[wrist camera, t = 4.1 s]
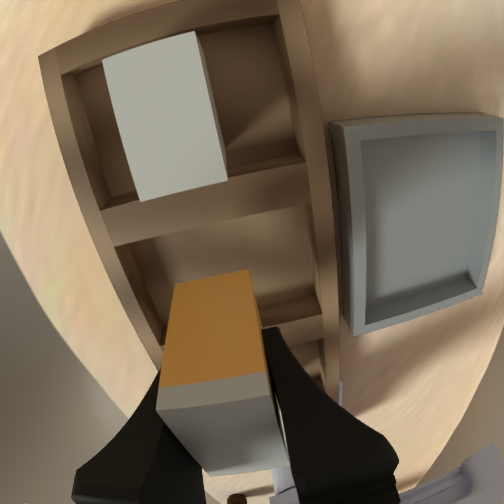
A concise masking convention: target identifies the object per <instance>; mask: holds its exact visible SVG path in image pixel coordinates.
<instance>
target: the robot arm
mask: <svg viewBox="0 0 504 504" xmlns="http://www.w3.org/2000/svg"><path fill="white" fill-rule="evenodd" d="M261 331H262V338H263V344H264V349H265V354H266V358H267V362H268V366H269V370H270V374H271V378H272V382H273V386H274V390H275V394H276V397H277V400H278V404H279V407H280V410H281V415H282V420H283V426H284V431H285V437H286V443H287V446H286V449H287V454H288V459H289V465H290V466H285V467H279V468H274V469H271V472H272V479H273V485H274V492H275V496H272V497H269V501H270V504H500V503H502V502H503V501H504V459H503V457H502V455H501V453H500V452H499V449H498V447H497V446H496V444H495V443H491V444H490V445H488V446H486V447H485V448H483V449H481V450H480V451H478V452H476V453H475V454H473V455H471V456H469V457H468V458H467V459H465V460H464V461H463V462H462V463H461V465H460V467H458V468H456V469H454V470H452V471H450V472H448V473H446V474H444V475H442V476H440V477H438V478H435V479H433V480H431V481H429V482H426V483H424V484H422V485H420V486H417V487H415V488H412V489H410V490H408V491H405V492H402V493H400V494H398V491H397V489H396V486H395V484H396V479H395V476H394V474H393V473H394V471H395V469H396V467H397V465H398V464H399V458H398V456H397V454H396V452H395V450H394V449H393V447H392V446H391V444H390V443H389V442H388V440H387V439H386V438H385V437H384V435H382V434H380V433H379V432H377V431H375V430H374V429H372V428H370V427H369V426H367V425H366V424H364V423H363V422H361V421H360V420H358V419H357V418H355V417H354V416H353V415H351V414H350V413H349V412H348V411H346V410H345V409H344V408H342V395H343V383H342V381H341V380H339V404H338V403H336V402H335V401H334V400H333V399H332V398H331V397H330V396H329V395H328V394H326V393H325V392H324V391H323V390H322V389H321V388H320V387H319V386H318V384H317V383H316V382H315V381H314V380H313V379H312V378H311V377H310V375H309V374H308V373H307V372H306V371H305V370H304V368H303V367H302V366H301V364H300V363H299V362H298V360H297V359H296V357H295V356H294V355H293V353H292V352H291V350H290V349H289V347H288V345H287V344H286V342H285V340H284V338H283V336H282V334H281V332H280V329H279V328H278V327H276V326H275V327H270V328H265V329H261ZM160 374H161V368H160V370H159V372H158V373H157V375H156V377H155V379H154V381H153V383H152V385H151V386H150V388H149V390H148V391H147V393H146V395H145V396H144V398H143V400H142V401H141V403H140V404H139V406H138V407H137V409H136V410H135V412H134V413H133V415H132V416H131V417H130V419H129V420H128V421H127V423H126V424H125V425H124V426H123V428H122V429H121V430H120V431H119V432H118V433H117V435H116V436H115V437H114V438H113V439H112V440H111V441H110V442H109V443H108V444H107V445H106V446H105V447H104V448H103V449H102V450H101V451H100V452H99V453H98V454H96V455H95V456H94V457H93V458H92V459H90V460H89V461H88V462H87V463H85V464H84V465H83V466H81V467H80V468H79V469H77V470H76V475H75V478H74V484H73V489H72V496H71V498H72V500H73V501H74V502H75V503H76V504H206V499H205V491H204V484H203V475H202V467H201V466H200V465H199V463H198V462H197V461H196V460H195V459H194V458H193V457H192V455H191V454H190V453H189V452H188V451H187V449H186V448H185V447H184V446H183V445H182V443H181V442H180V441H179V440H178V439H177V437H176V436H175V435H174V434H173V432H172V431H171V430H170V428H169V427H168V426H167V425H166V423H165V422H164V421H163V419H162V418H161V417H160V415H159V414H158V413H157V411H156V404H157V396H158V388H159V381H160ZM23 504H27V503H23Z"/></svg>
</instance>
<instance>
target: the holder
mask: <svg viewBox="0 0 504 504" xmlns="http://www.w3.org/2000/svg"><path fill="white" fill-rule="evenodd" d="M192 31H195V33H196V35H197V37H198V40H199V42H200V44H201V47H202V49H203V52H204V54H205V59H206V64H207V68H208V73H209V77H210V82H211V86H212V91H213V96H214V100H215V105H216V109H217V114H218V118H219V123H220V127H221V132H222V136H223V141H224V146H225V153H226V164H227V175H228V181H224V182H220V183H215V184H211V185H207V186H202V187H198V188H194V189H190V190H186V191H181V192H177V193H173V194H169V195H166V196H162V197H158V198H154V199H150V200H146V201H143V202H140V199H139V196H138V193H137V190H136V187H135V184H134V181H133V177H132V174H131V171H130V167H129V164H128V161H127V157H126V154H125V150H124V147H123V143H122V140H121V136H120V132H119V129H118V125H117V121H116V117H115V114H114V110H113V106H112V102H111V98H110V93H109V89H108V85H107V81H106V76H105V72H104V67H103V63H102V60H103V59H105V58H108V57H111V56H113V55H116V54H119V53H122V52H124V51H127V50H130V49H133V48H136V47H139V46H142V45H145V44H149V43H152V42H155V41H158V40H162V39H165V38H169V37H173V36H176V35H180V34H184V33H188V32H192ZM38 59H39V64H40V70H41V75H42V79H43V84H44V89H45V93H46V98H47V102H48V106H49V110H50V114H51V118H52V122H53V126H54V129H55V133H56V136H57V140H58V143H59V147H60V150H61V153H62V157H63V160H64V163H65V166H66V169H67V172H68V175H69V178H70V181H71V184H72V187H73V190H74V193H75V196H76V199H77V201H78V204H79V207H80V209H81V212H82V215H83V217H84V220H85V222H86V225H87V227H88V230H89V232H90V235H91V237H92V240H93V242H94V245H95V247H96V249H97V252H98V254H99V256H100V259H101V261H102V263H103V265H104V268H105V270H106V272H107V274H108V277H109V279H110V281H111V283H112V285H113V287H114V289H115V291H116V294H117V296H118V298H119V300H120V302H121V304H122V306H123V308H124V310H125V312H126V314H127V316H128V318H129V320H130V322H131V323H132V325H133V327H134V329H135V331H136V333H137V335H138V337H139V338H140V340H141V342H142V344H143V346H144V348H145V349H146V351H147V353H148V355H149V356H150V358H151V360H152V362H153V363H154V365H155V367H156V369H157V370H158V372H159V370H160V368H161V366H162V360H163V353H164V346H165V340H166V334H167V327H168V321H169V315H170V310H171V304H172V298H173V293H174V287H175V284H179V283H184V282H188V281H193V280H198V279H203V278H208V277H213V276H217V275H222V274H227V273H232V272H236V271H241V270H246V269H249V273H250V277H251V281H252V286H253V290H254V294H255V299H256V303H257V307H258V311H259V316H260V320H261V324H262V328H263V329H265V328H270V327H275V326H276V327H278V328H279V329H280V332H281V334H282V336H283V338H284V340H285V342H286V344H287V345H288V347H289V349H290V350H291V352H292V353H293V355H294V356H295V357H296V359H297V360H298V362H299V363H300V364H301V366H302V367H303V368H304V370H305V371H306V372H307V373H308V374H309V375H310V377H311V378H312V379H313V380H314V381H315V382H316V383H317V384H318V386H319V387H320V388H321V389H322V390H323V391H324V392H325V393H326V394H328V395H329V396H330V397H331V398H332V399H333V400H334V401H335V402H336V403H338V404H339V306H338V281H337V262H336V246H335V233H334V220H333V209H332V198H331V188H330V179H329V170H328V161H327V153H326V145H325V137H324V130H323V123H322V116H321V110H320V103H319V97H318V91H317V85H316V79H315V73H314V68H313V62H312V57H311V52H310V47H309V42H308V37H307V32H306V27H305V23H304V18H303V14H302V9H301V5H300V1H299V0H182V1H178V2H174V3H170V4H166V5H163V6H159V7H156V8H152V9H149V10H146V11H143V12H140V13H137V14H134V15H131V16H128V17H125V18H122V19H119V20H117V21H114V22H111V23H109V24H106V25H104V26H101V27H99V28H96V29H94V30H91V31H89V32H87V33H84V34H82V35H80V36H78V37H76V38H73V39H71V40H69V41H67V42H65V43H63V44H61V45H59V46H57V47H55V48H53V49H51V50H49V51H47V52H45V53H43V54H42V55H40V56H38Z"/></svg>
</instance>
